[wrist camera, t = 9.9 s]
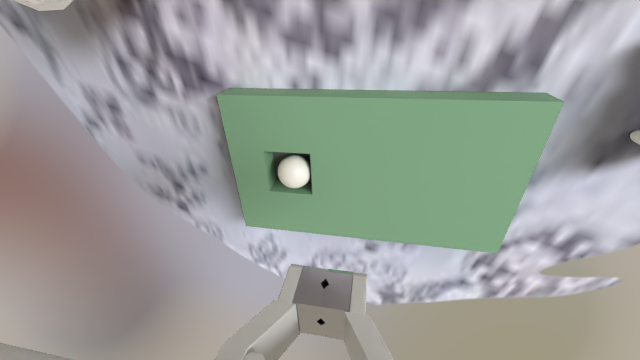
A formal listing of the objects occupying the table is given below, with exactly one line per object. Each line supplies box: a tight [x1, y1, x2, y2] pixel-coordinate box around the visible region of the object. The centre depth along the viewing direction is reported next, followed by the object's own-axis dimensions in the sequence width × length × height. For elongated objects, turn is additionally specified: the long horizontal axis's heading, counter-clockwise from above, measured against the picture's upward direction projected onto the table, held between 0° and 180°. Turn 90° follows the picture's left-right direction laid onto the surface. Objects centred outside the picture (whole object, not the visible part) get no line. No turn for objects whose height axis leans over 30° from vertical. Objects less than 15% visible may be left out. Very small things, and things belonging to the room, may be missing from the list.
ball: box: [278, 155, 311, 188], centre depth 33 cm, size 4×4×4 cm
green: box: [217, 88, 564, 253], centre depth 32 cm, size 18×32×3 cm, turn 91°
